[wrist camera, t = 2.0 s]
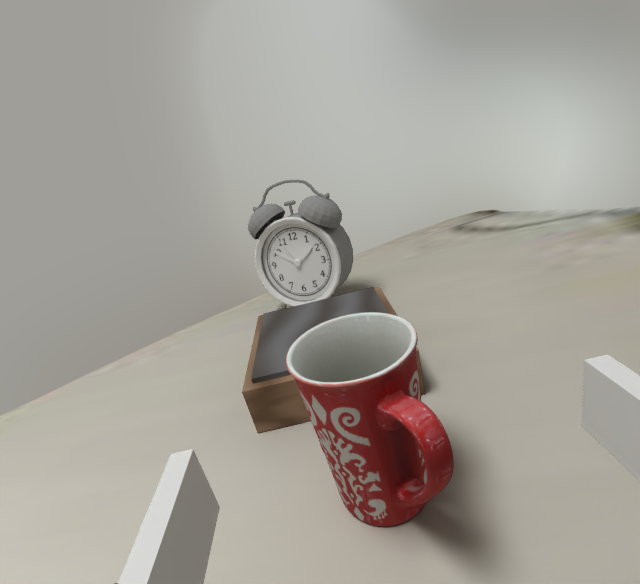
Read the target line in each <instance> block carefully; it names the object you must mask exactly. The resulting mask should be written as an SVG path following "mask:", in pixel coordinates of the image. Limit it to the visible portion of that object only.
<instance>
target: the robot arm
mask: <svg viewBox="0 0 640 584" xmlns="http://www.w3.org/2000/svg"><path fill="white" fill-rule="evenodd" d="M581 426H582V427H583V428H584V429H585V430H586V431H587V432H588V433H589V434H590V435H591V436H592V437H593V438H594V439H595V440H596V441H597V442H598V443H599V444H601V445H602V446H603V447H604V448H605V449H606V450H607V451H608V452H609V453H610V454H611V455H612V456H613V457H614V458H615V459H616V460H617V461H618V462H619V463H620V464H621V465H622V466H623V467H624V468H625V469H627V470H628V471H629V472H630V473H631V474H632V475H633V476H634V477H635V478H636V479H637V480H638V481H639V482H640V376H639V375H638V374H636V373H635V372H633V371H632V370H630V369H629V368H627V367H626V366H624V365H622V364H621V363H619V362H618V361H616V360H615V359H613V358H612V357H610V356H609V355H604V356H599V357H595V358H590V359H586V360H584V371H583V395H582V419H581ZM218 512H219V504H218V502H217V500H216V498H215V496H214V494H213V491H212V489H211V487H210V485H209V483H208V480H207V478H206V476H205V474H204V472H203V469H202V467H201V465H200V463H199V461H198V459H197V456H196V454H195V452H194V450H193V449H191V450H186V451H182V452H178V453H173V454H171V455H170V457H169V460H168V462H167V465H166V467H165V470H164V472H163V474H162V477H161V479H160V482H159V484H158V487H157V489H156V491H155V494H154V496H153V499H152V501H151V504H150V506H149V509H148V511H147V513H146V516H145V518H144V521H143V523H142V526H141V528H140V530H139V533H138V535H137V538H136V540H135V543H134V545H133V548H132V550H131V552H130V555H129V557H128V560H127V562H126V565H125V567H124V569H123V572H122V574H121V577H120V579H119V582H118V583H116V584H203V583H204V578H205V573H206V569H207V564H208V559H209V554H210V550H211V545H212V540H213V536H214V531H215V526H216V522H217V517H218Z"/></svg>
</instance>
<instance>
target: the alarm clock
mask: <svg viewBox="0 0 640 584" xmlns="http://www.w3.org/2000/svg"><path fill="white" fill-rule="evenodd" d="M291 182H300V183H304V184H306V185H307V186H308V187H310V188H311V190H312V191H313V192H314V193H315V194H317V195H319V196H310V197H307V198H305V199H304V200H303V201H302V203H301V204H300V206H299V209H298V211H299V213H296V214H293V210H292V206H291V205H293V204H295V201H294V200H293V201H288V202H284V205H285V206H287V205H289V208H290V212H291V215H290V216H288V217H285V218H282V217H283V216H284V214H285V211H284V210H283V208H282V207H280V206H278V205H276V204H267V205H264V206H262V205H263V203H264V201H265V198H266V195H267V193H268V191H269V190H270V189H272V188H273V187H276V186H278V185H281V184H284V183H291ZM261 206H262V207H261ZM253 211H254V213H253V215H252V216H251V218H250V221H249V225H248V229H249V232H250V234H251V235H252V237H253V238H254V239H258V242H257V245H256V250H255V264H256V270H257V272H258V275H259V277H260V280H261V282H262V283H263V285H264V286H265V288H266V289H267V290H268V291H269V292H270V293H271V294H272V295H273V296H274V297H275V298H276V299H278V300H279V301H281V302H283V303H284V304H287V308H289V307H291V306H298V305H302V304H306V303H310V302H314V301H318V300H322V299H326V298H331V297H330V296H331V295H332V294H333V293H334V292H335V291H336V290H337V289H338V288H339V287H340V286H341V285H342V284H343V282H344V281H345V280H346V279H347V277H348V275H349V273H350V272H351V268H352V263H353V249H352V245H351V242H350V239H349V237H348V235H347V233H346V232H345V230H344V228H343V227H342V226H341V225H340V222H341V220H342V213H341V210H340V209H339V207H338V206H337V204H336V203H335V202H334V201H332V200H331V199H329V193H327V194H325V195H323V194H321V193H318V192H317V191H316V190H315V189H314V188H313V187H312V186H311V185H310V184H309V183H308V182H306V181H303V180H285V181H282V182H279V183H276V184H274V185H272V186H270V187H269V188H267V189H266V191H265V193H264V195H263V200H262V202H261V204H260V205H259V206H258V207H257V208H256V207H253Z"/></svg>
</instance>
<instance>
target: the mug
mask: <svg viewBox="0 0 640 584" xmlns="http://www.w3.org/2000/svg"><path fill="white" fill-rule="evenodd" d="M416 345H417V333H416V330H415V328H414V327H413V326H412V324H410V323H409V322H408V321H407V320H405V319H403V318H401V317H398V316H395V315H391V314H386V313H375V312H368V313H356V314H350V315H346V316H341V317H338V318H334V319H331V320H328V321H326V322H323V323H321V324H319V325H317V326H315V327H313V328H311V329H310V330H308V331H307V332H305V333H304V334H303V335H301V336H300V337H299V338H298V339H297V340H296V341H295V342H294V343H293V344H292V346H291V347H290V349H289V351H288V353H287V356H286V366H287V369H288V371H289V373H290V374H291V375H292V376H293V377H294V378H295V381H296V383H297V386H298V388H299V391H300V393H301V396H302V399H303V401H304V404H305V407H306V409H307V412H308V414H309V416H310V419H311V421H312V424H313V426H314V429H315V431H316V434H317V436H318V438H319V441H320V444H321V448H322V450H323V452H324V454H325V456H326V459H327V462H328V464H329V467H330V469H331V472H332V474H333V477H334V480H335V482H336V485H337V488H338V491H339V494H340V496H341V498H342V500H343V502H344V504H345V506H346V508H347V509H348V510H349V511H350V512H351V513H352V514H353V515H354V516H355V517H356V518H358V519H359V520H361V521H363V522H365V523H368V524H371V525H376V526H393V525H397V524H400V523H403V522H405V521H407V520H409V519H411V518H412V517H414V516H415V515H416V514H417V513H418V512H419V511H420V510H421V509H422V508H423V506H424V505H425V503H426V502H427V501H429V500H430V499H432V498H433V497H434V496H435V495H437V494H438V493H439V492H441V491H442V490H443V489H444V488H445V486H446V485H447V484H448V482H449V481H450V479H451V477H452V473H453V454H452V449H451V445H450V441H449V438H448V436H447V434H446V431H445V429H444V427H443V425H442V424H441V422H440V420H439V419H438V418H437V416H436V415H435V414H434V413H433V412H432V410H431V409H430V408H429V407H428V406H426V405H425V404H424V403H423V402H421V392H420V382H419V373H418V365H417V356H416Z"/></svg>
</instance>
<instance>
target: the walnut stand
mask: <svg viewBox="0 0 640 584" xmlns="http://www.w3.org/2000/svg"><path fill="white" fill-rule="evenodd" d="M368 312H375V313H386V314H391V315H395V316H397V315H396V313H395V311H394V310H393V308H392V306H391V305H390V303H389V301H388V300H387V298H386V297H385V295H384V293H383V292H382V290H381V288H380V287H377V288H374V287H372V288H368V289H363V290H359V291H355V292H351V293H347V294H343V295H339V296H335V297H331V298H326V299H322V300H318V301H314V302H310V303H306V304H302V305H298V306H293V307H289V308H285V309H281V310H277V311H273V312H269V313H265V314H263V315H261V316H259V317H258V321H257V326H256V330H255V335H254V340H253V344H252V349H251V354H250V358H249V363H248V367H247V372H246V377H245V381H244V386H243V391H242V393H243V395H244V398H245V401H246V403H247V406H248V409H249V411H250V414H251V417H252V419H253V422H254V424H255V427H256V430H257V432H258V433H261V432H265V431H270V430H274V429H278V428H282V427H287V426H291V425H295V424H300V423H304V422H308V421H311V419H310V416H309V414H308V412H307V409H306V407H305V404H304V401H303V399H302V396H301V393H300V391H299V388H298V386H297V383H296V381H295V378H294V377H293V376H292V375H291V374H290V373H289V371H288V369H287V366H286V356H287V353H288V351H289V349H290V347H291V346H292V344H293V343H294V342H295V341H296V340H297V339H298V338H299V337H300V336H301V335H303V334H304V333H305V332H307V331H308V330H310V329H311V328H313V327H315V326H317V325H319V324H321V323H323V322H326V321H328V320H331V319H334V318H338V317H341V316H346V315H350V314H356V313H368ZM416 356H417V365H418V373H419V382H420V392H421V395H423V394H425V389H424V383H423V377H422V370H421V364H420V357H419V351H418V349H417V347H416Z"/></svg>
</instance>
